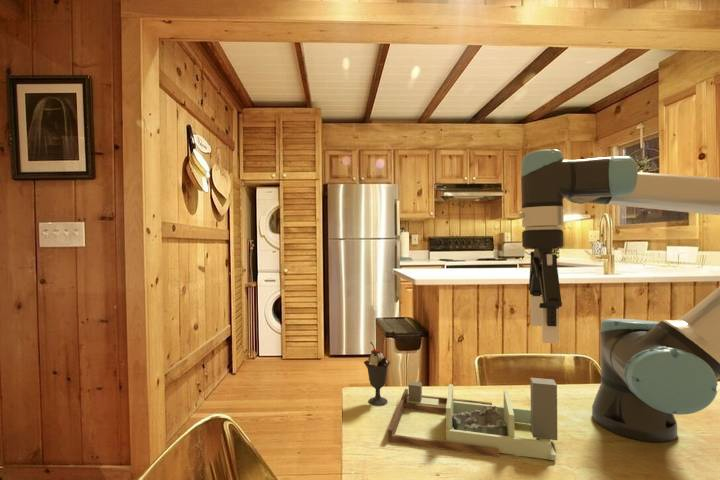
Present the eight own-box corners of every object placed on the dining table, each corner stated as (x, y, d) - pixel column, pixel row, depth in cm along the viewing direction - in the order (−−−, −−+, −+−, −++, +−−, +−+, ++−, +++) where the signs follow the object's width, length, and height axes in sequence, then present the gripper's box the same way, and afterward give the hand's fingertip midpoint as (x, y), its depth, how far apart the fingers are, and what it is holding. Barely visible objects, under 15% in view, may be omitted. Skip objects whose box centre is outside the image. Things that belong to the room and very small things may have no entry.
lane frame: (492, 407, 92) (491, 397, 92) (498, 456, 71) (498, 444, 71) (405, 398, 98) (404, 388, 98) (388, 441, 77) (388, 429, 77)
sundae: (366, 395, 99) (365, 339, 99) (391, 396, 99) (390, 339, 98) (363, 407, 93) (362, 346, 93) (390, 408, 92) (389, 347, 92)
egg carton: (497, 423, 84) (497, 405, 84) (510, 441, 76) (510, 421, 76) (449, 423, 84) (449, 405, 84) (458, 441, 76) (458, 421, 76)
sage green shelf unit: (548, 424, 82) (548, 370, 82) (564, 461, 69) (563, 396, 69) (449, 413, 88) (449, 362, 88) (446, 445, 75) (445, 385, 75)
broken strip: (481, 407, 91) (481, 387, 91) (481, 414, 88) (481, 392, 88) (408, 399, 96) (408, 380, 96) (406, 405, 93) (406, 385, 93)
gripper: (514, 229, 89) (516, 319, 89) (531, 228, 65) (533, 350, 65) (549, 229, 87) (551, 320, 87) (580, 227, 63) (582, 353, 63)
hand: (543, 333), depth 76 cm, fingers open, 13 cm apart
